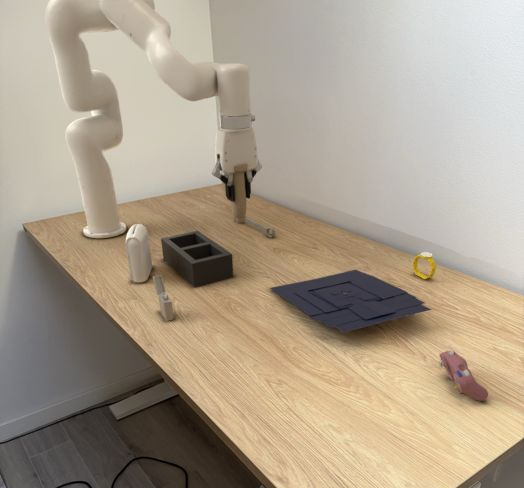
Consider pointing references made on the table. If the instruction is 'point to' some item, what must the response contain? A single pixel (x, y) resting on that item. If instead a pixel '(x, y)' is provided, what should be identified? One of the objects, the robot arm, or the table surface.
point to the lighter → (163, 298)
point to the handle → (239, 194)
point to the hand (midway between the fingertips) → (238, 197)
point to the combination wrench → (261, 227)
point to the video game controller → (462, 376)
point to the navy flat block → (350, 300)
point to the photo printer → (138, 253)
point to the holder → (197, 258)
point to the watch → (433, 267)
